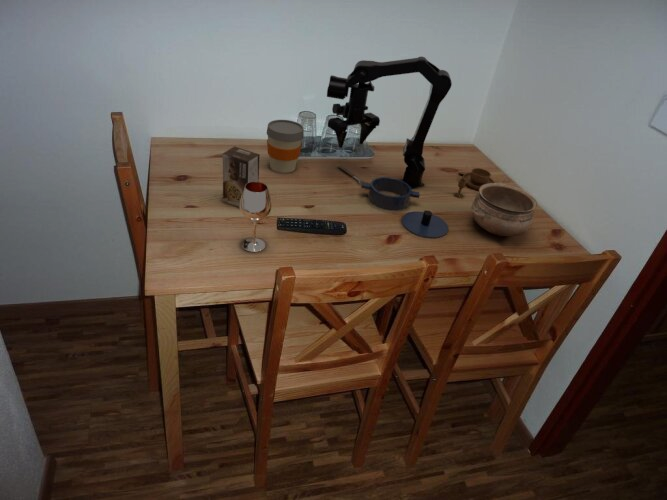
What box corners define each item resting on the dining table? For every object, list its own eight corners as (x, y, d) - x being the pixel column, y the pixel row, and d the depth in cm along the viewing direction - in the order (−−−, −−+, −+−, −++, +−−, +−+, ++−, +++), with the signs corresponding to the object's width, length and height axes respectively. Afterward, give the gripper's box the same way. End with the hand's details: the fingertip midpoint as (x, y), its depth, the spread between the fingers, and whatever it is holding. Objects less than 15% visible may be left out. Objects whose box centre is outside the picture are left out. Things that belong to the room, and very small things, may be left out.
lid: (401, 210, 164) (404, 197, 162) (446, 218, 164) (450, 205, 161) (400, 234, 152) (404, 220, 150) (448, 243, 152) (453, 229, 149)
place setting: (504, 195, 183) (510, 180, 180) (457, 198, 177) (462, 183, 173) (478, 172, 197) (482, 158, 193) (433, 175, 190) (437, 160, 186)
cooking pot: (484, 253, 150) (497, 218, 143) (446, 219, 163) (456, 186, 156) (545, 240, 161) (559, 207, 154) (505, 210, 174) (516, 178, 167)
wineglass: (239, 235, 141) (241, 178, 131) (269, 237, 142) (272, 180, 132) (237, 253, 135) (238, 193, 124) (268, 254, 136) (272, 196, 125)
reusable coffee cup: (273, 177, 172) (276, 135, 163) (259, 161, 181) (261, 120, 172) (306, 172, 178) (310, 132, 169) (291, 157, 186) (294, 118, 178)
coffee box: (258, 202, 157) (261, 154, 148) (247, 210, 152) (248, 161, 143) (233, 193, 160) (234, 145, 151) (221, 201, 155) (221, 152, 146)
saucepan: (361, 187, 174) (364, 172, 171) (416, 196, 174) (419, 182, 171) (357, 206, 163) (360, 191, 160) (416, 216, 163) (420, 201, 159)
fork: (372, 188, 175) (369, 164, 173) (367, 189, 173) (363, 165, 171) (345, 188, 187) (342, 165, 185) (340, 189, 186) (336, 167, 184)
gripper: (363, 91, 177) (356, 133, 186) (320, 96, 167) (315, 140, 176) (384, 102, 170) (376, 145, 179) (341, 108, 160) (334, 153, 169)
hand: (350, 145), depth 176 cm, fingers open, 9 cm apart
